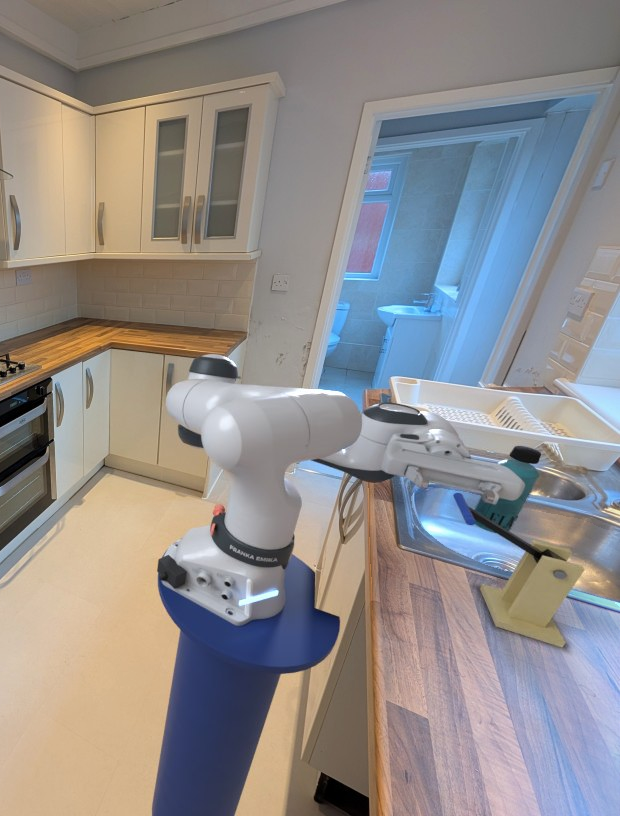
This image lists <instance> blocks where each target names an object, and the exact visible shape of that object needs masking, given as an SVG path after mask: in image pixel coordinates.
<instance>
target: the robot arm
mask: <svg viewBox="0 0 620 816" xmlns="http://www.w3.org/2000/svg"><path fill="white" fill-rule="evenodd" d="M188 372H189V374H188V377H187V379H183V380H180V381H178V382H176V383H175V384H173V385H172V387H170V389H169V390H168V391H167V393H166V396H165V408H166V411H167V413H168V415H169V416H170V417H171V418H172V419H173V420H174V421H175V422H177V432H178V433H177V434H178V437H179V439H180V440H181V442H182V443H183V444H185V445H187V446H189V447H191V448H193V449H196V450H204V452H205V454H206V455H207V457H208V458H209V459H210V460H211V462H213V464H214V465H215V466H217V467H218V468H220V469H221V470H223V471H224V472H225V474H226V476H227V479H228V494H227V501H226V508H225V506H224V505H223V504H221V503H217V504H215V505H214V506H213V510H212V516H213V517H212V520H211V523H210V524H208V525H202V526H195V527H192V528H190V529H189V530H188V531H186V532H185V533H184V535H183V536H182V537H183V538H182V537H181V538H182V539H181V538H179V539H177V540H175V541H174V542H172V543H171V545H169V547H168V548H167V549H168V550H167V549H166V550H167V551H166V550H165V551H166V553H165V552H164V553H165V555H164V554H163V555H164V557H162V556H161V558H158V560H157V567H156V569H157V570H156V572H157V574H158V573H159V574H160V576H159V579H160V580H161V581H162V583H163V585H165V586H166V587H168V588H170V589H171V590H173V591H175V592H177V593H179V594H180V595H182V596H184V597H186V598H187V599H189V600H191V601H193V602H195V603H196V604H198V605H200V606H202V607H203V608H205V609H207V610H209V611H211V612H212V613H214V614H216V615H218V616H220V617H221V618H223V619H225V620H227V621H228V622H230V623H232V624H234V625H237V626H242V625H244V624H246V623H248V622H250V621H251V620H256V619H266V618H270V617H273V616H275V615H277V614H278V613H279V612H280V611H281V610H282V609H283V607H284V605H285V591H284V578H285V569H286V568H287V565H288V563H289V562H290V559H291V556H292V554H293V552H294V548H295V538H296V537H295V530H296V527H297V524H298V521H299V517H300V513H301V510H302V506H303V501H302V496H301V494H300V492H299V491H298V489H297V488H296V486H295V485H294V484H293V483H292V482H291V481H290V480H288V479H287V478H286V477H285V474H286V471H287V470H288V468H289V467H290V465H292V464H296V463H302V462H307V461H311V462H314V463H317V464H320V465H322V466H326V467H328V468H332V469H334V470H337V471H341V472H342V473H345V474H347V475H349V476H351V477H353V478H356V479H358V480H360V481H363V482H366V483H370V484H377V483H381V482H385V481H388V480H390V479H393V478H394V477H395V476H398V477H403V478H406V479H407V480H409V481H411V482H412V483H413V484H415V487H416V488H420V489H425V490H427V489H428V486H429V485H430V484H433V485H439V486H443V487H448V488H451V489H457V490H462V491H465V492H471V493H475V494H480V495H481V496H482V497H481V496H480V498H482V500H483V502H486V503H490V504H494V505H495V504H496V503H497V501H498V499H499V498H502V499H507V500H516V499H518V498H519V497H520V495H521V494H522V492H523V490H524V487H525V483H524V482H523V481H522V480H521V479H520V478H519V477H518V476H517V475H516V474H515V473H514V472H513V471H512V470H510V469H509V468H507V467H505V466H502V465H499V464H497V463H495V462H489V461H484V460H479V459H475V458H472V455H471V453H470V452H469V450H468V448H467V447H466V445H465V443H464V441H463V440H462V439H461V437H460V436H459V434H458V432H457V430H456V428H455V427H454V426H453V425H452V423H450V421H448V419H446V418H445V417H443V416H442V415H439V414H437V413H435V412H431V411H425V410H424V411H423V410H422V411H421V410H419V409H418V408H415V407H412V406H409V405H406V404H402V403H397V402H380V403H377V404H373V405H370V406H368V407H366V408H364V410H362V413H361V410H360V409H359V407H358V405H357V403H356V402H355V401H354V400H353V399H352V398H351V397H349V396H348V395H347V394H345V393H343V392H340V391H335V390H325V389H313V388H312V389H311V388H302V387H301V388H300V387H288V386H272V385H259V384H246V383H236V381H237V379H239V380H240V379H242V377H241V375H239V370H238V366H237V364H235V362H234V361H233V360H230V359H229V358H228V357H226V356H224V355H221V354H217V353H208V354H204V355H199V356H196V357H195V358H194V359H193V360H192V362H191V363H190V367H189V369H188ZM482 494H483V495H482ZM229 614H231V615H229Z"/></svg>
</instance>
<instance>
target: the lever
mask: <svg viewBox="0 0 620 816" xmlns="http://www.w3.org/2000/svg"><path fill="white" fill-rule="evenodd" d="M452 496H453V499H454V500H455V503H456V505H457V507H458V509H459V512H460V513H461V516H462V518H463V520H464V522H465V524H466V525H467V526H475V525H476V524H475V523H476V521H478V522H479V523H481V524H483V525H484V526H486V527H487V528H489V529H491V530H492V531H494V532H496V533H495V534H497V535H499V536H500V537H502V538H503V539H505V540H507V541H509V542H510V543H512V544H513V545H514V546H516V547H518V548H520V549H521V550H523V551H524V552H525V551H526V552H528V553H529V554H531V555H533V556H534V559H535V561H536V562H537V564H538V562H539V560H540V559H541V557H542V556H547V557H551V558H555V559H559V560H563V561H566V560H565V559H564V558H562V557H560V556H559V555H557V554H555V553H554V552H552V551H551V550H549V549H546V550H544V551H543V552H542V551H540V550H539V549H537V548H535V547H534V546H532V545H531V544H530V543H529V542H528V541H526V540H524V539H522V538H521V537H519V536H518V535H516V534H514V533H512V532H511V531H510V530H509V531H508V530H506V529H504V528H503V527H501V526H500V525H498V524H496V523H495V522H493V521H491V520H490V519H488V518H487V517H485V516H483V515H482V514H480V513H478V512H477V511H475V508H473V507H470V506H469V505H468V503H467V502H466V500H465V497H464V495H463V494H462V493H460V492H455V493H454V494H453V495H452ZM475 520H476V521H475Z"/></svg>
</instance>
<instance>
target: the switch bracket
mask: <svg viewBox="0 0 620 816" xmlns="http://www.w3.org/2000/svg"><path fill="white" fill-rule="evenodd" d="M529 544H531V545H532V546H534V547H535V548H537V549H539V550H540V551H542V552H543V551H544V550H546V549H549V550H551V551H552V552H554V553H555V554H557V555H559V556H560V557H562V558H564V559H565V560H566V561H563V560H559V559H555V558H551V557H547V556H542V557H541V559H540V560H539V562H538V564H537V562H536V561H535V559H534V556H533V555H531V554H529V553H528V552H526V551H525V550H524V553H523V555H522V556H521V558H520V560H519V561H518V563H517V565H516V566H515V568H514V570H513V571H512V573H511V575H510V577H509V578H508V580H507V582H506V583H505V585H504V587H503V588H497V587H495V586H491V585H487V584H484V583H482V584H481V586H480V587H479V590H480V593H481V595H482V597H483V599H484V602H485V604H486V606H487V609H488V611H489V613H490V617H491V618H492V621H493V623H494V626H495V627H497V628H500V629H501V630H505V631H509V632H512V633H515V634H518V635H522V636H524V637H527V638H530V639H533V640H536V641H540V642H544V643H546V644H550V645H552V646H556V647H559V648H563V647H564V646H565V645H566V644H567V642H566V640H565V638H564V637H563V635H562V633H561V631H560V630H559V628H558V626H557V624H556V623H555V621H554V620H553V617H554V615H556V612H557V611H558V609H559V607H561V605H562V604H563V602H564V600H566V598H567V596H568V595H569V593H570V592H571V591H572V589H573V588H574V586H575V585H576V583H577V582H578V581H579V579H580V577H581V576H582V575H583V573H584V572H585V570H586V569H585V568H584V566H583V565H581V564H579V563H574V562H570V561H568V560H569V558H570V557H571V555H573V551H572V550H571V549H570V548H569V547H565V546H559V545H556V544H553V543H552V544H551V543H547V542H543V541H540V540H535V539H531V541H530V543H529Z"/></svg>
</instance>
